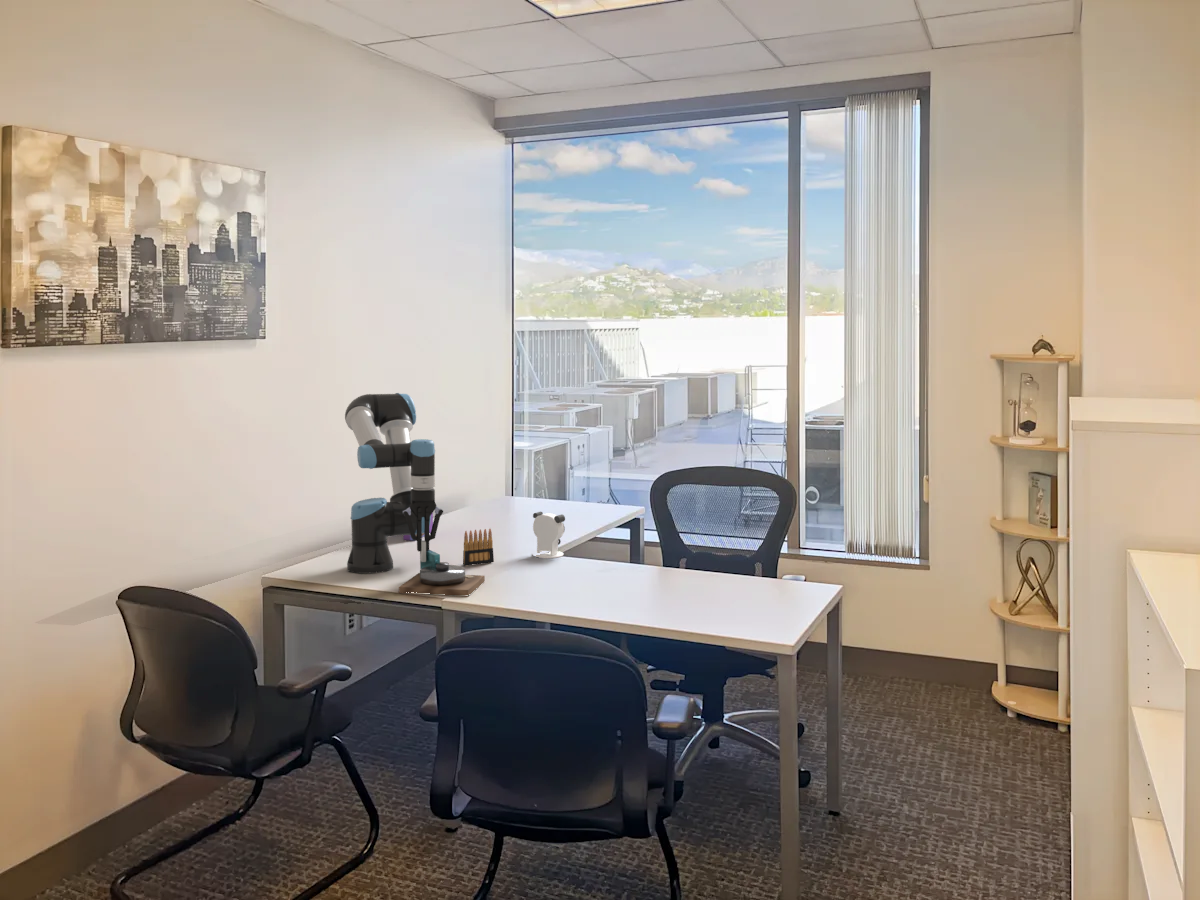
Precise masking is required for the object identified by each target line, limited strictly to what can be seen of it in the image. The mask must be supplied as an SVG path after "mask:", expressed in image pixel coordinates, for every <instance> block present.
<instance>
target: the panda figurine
mask: <svg viewBox="0 0 1200 900" xmlns="http://www.w3.org/2000/svg"><path fill="white" fill-rule="evenodd" d="M532 517H533V519H534V520H533V523H532V525H533V526H532V530H533V533H534V535H535V536H536V543H537V544H536V552H537V553H540V552H542V551H550V552H549V553H545V554H540V555H536V557H539V558H538V559H557V558H561V557H563V556H564V552H562V551H558V549H559V545H560V544H561V538H562V537H563V535H564V533H565V529H566V527H565V524H564V522H565V521H566V516H565V515H564V514H554V513H550V512H549V513H543V511H537V512H535V513H533V514H532ZM536 557H535V558H536Z"/></svg>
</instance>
